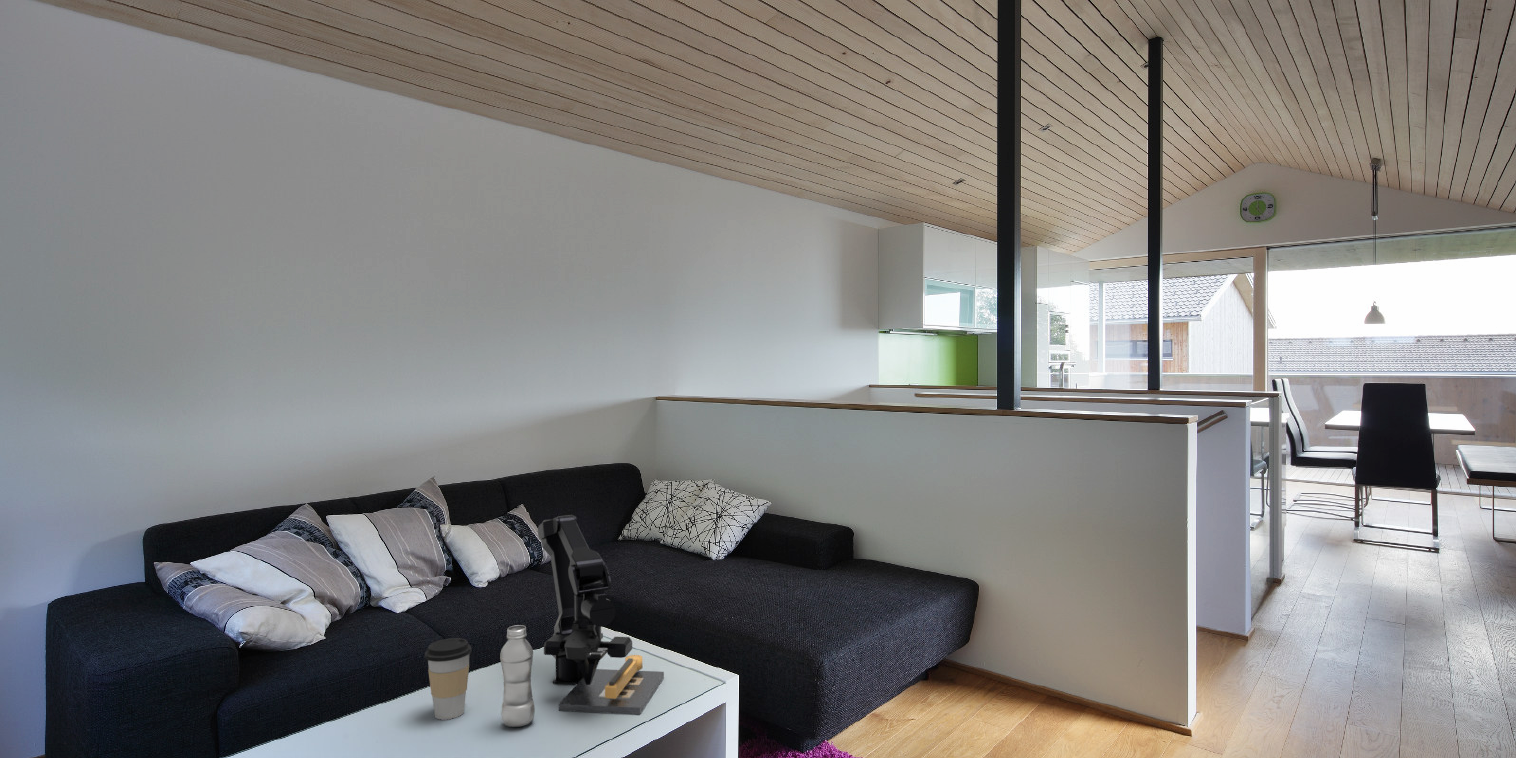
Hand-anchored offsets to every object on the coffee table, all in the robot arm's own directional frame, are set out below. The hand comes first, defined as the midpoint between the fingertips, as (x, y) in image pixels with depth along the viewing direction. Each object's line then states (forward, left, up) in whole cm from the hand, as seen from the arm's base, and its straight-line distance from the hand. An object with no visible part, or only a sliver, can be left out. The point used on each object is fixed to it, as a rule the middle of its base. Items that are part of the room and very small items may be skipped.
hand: (588, 684), depth 171 cm
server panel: (+4, +4, -4) cm, 7 cm away
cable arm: (+6, +5, -1) cm, 8 cm away
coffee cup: (-28, -10, -4) cm, 30 cm away
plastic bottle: (-11, -13, -4) cm, 17 cm away
